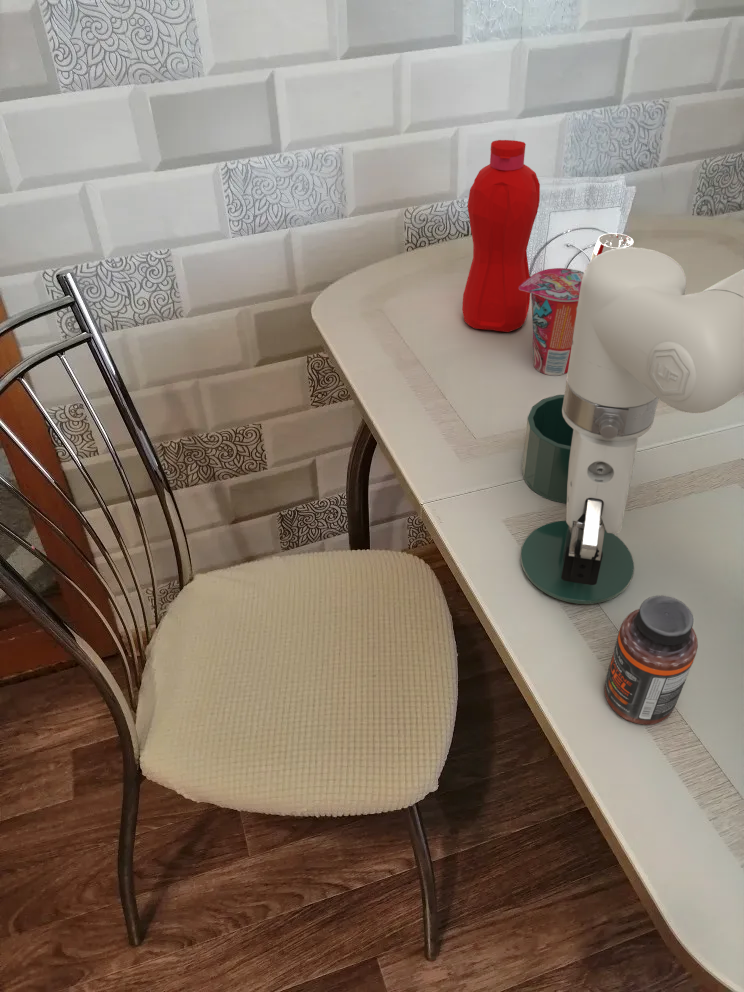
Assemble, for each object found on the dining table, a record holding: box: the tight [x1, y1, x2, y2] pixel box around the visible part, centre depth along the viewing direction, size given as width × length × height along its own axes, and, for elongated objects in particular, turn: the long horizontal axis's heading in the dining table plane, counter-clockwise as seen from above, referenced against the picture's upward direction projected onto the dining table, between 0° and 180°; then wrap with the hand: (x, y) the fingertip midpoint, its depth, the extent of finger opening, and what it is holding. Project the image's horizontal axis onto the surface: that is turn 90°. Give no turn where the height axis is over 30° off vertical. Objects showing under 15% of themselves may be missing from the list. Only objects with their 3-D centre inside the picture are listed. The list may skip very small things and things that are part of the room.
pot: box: [521, 394, 574, 504], centre depth 88 cm, size 10×10×8 cm
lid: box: [520, 514, 635, 605], centre depth 78 cm, size 11×11×7 cm
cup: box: [519, 267, 584, 376], centre depth 103 cm, size 9×8×12 cm
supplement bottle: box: [603, 594, 699, 726], centre depth 65 cm, size 6×6×11 cm
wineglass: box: [589, 232, 635, 263], centre depth 111 cm, size 6×6×12 cm
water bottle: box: [461, 139, 541, 333], centre depth 109 cm, size 9×11×25 cm
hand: (581, 544), depth 78 cm, fingers open, 9 cm apart
